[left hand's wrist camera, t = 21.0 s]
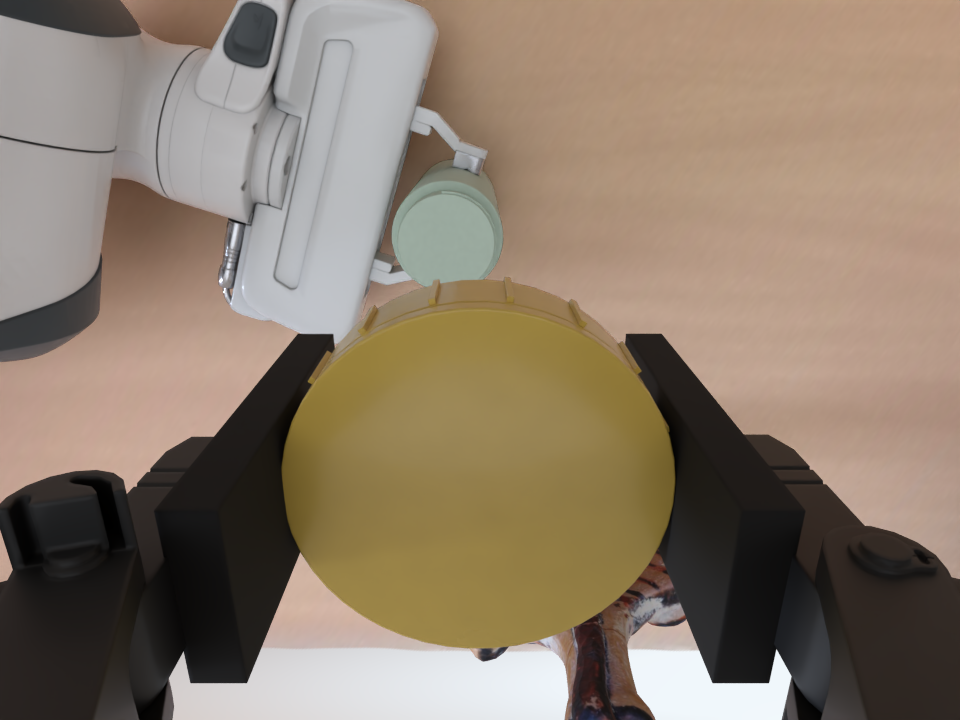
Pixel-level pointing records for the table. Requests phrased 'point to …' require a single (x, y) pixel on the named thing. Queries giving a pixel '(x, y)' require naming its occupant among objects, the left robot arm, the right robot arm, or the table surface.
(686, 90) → the table surface
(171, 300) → the table surface
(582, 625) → the figurine
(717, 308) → the table surface
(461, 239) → the jar
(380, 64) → the right robot arm
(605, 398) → the lid
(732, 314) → the table surface
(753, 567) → the left robot arm
